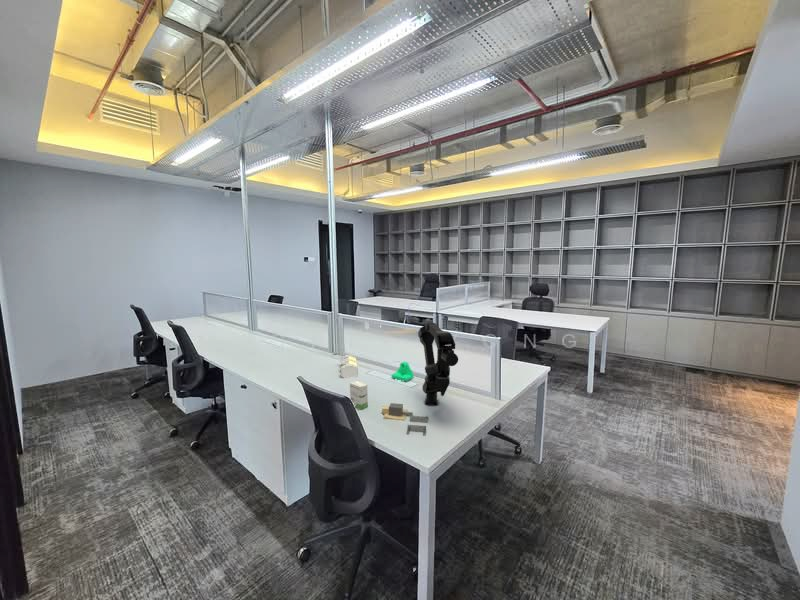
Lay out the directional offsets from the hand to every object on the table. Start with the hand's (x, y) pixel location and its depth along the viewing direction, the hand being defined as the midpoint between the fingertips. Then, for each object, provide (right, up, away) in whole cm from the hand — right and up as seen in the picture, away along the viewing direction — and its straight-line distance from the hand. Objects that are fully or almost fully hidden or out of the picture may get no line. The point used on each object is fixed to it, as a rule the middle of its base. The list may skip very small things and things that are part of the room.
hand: (442, 391), depth 153 cm
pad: (-22, -12, +3) cm, 25 cm away
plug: (-22, -11, +3) cm, 25 cm away
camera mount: (-19, -7, +51) cm, 54 cm away
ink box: (-41, -11, +12) cm, 44 cm away
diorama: (-54, -5, +64) cm, 84 cm away
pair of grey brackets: (-12, -13, -8) cm, 19 cm away
